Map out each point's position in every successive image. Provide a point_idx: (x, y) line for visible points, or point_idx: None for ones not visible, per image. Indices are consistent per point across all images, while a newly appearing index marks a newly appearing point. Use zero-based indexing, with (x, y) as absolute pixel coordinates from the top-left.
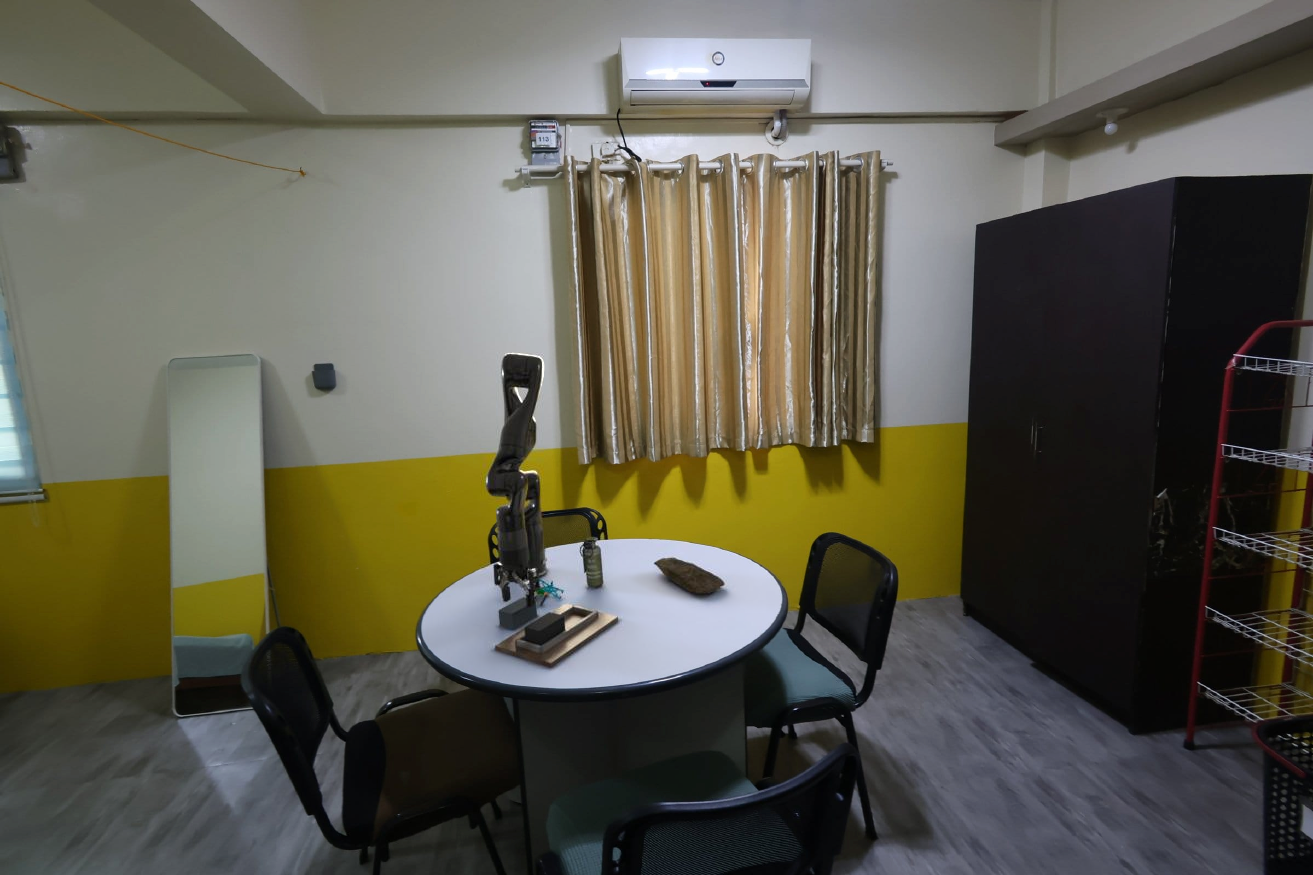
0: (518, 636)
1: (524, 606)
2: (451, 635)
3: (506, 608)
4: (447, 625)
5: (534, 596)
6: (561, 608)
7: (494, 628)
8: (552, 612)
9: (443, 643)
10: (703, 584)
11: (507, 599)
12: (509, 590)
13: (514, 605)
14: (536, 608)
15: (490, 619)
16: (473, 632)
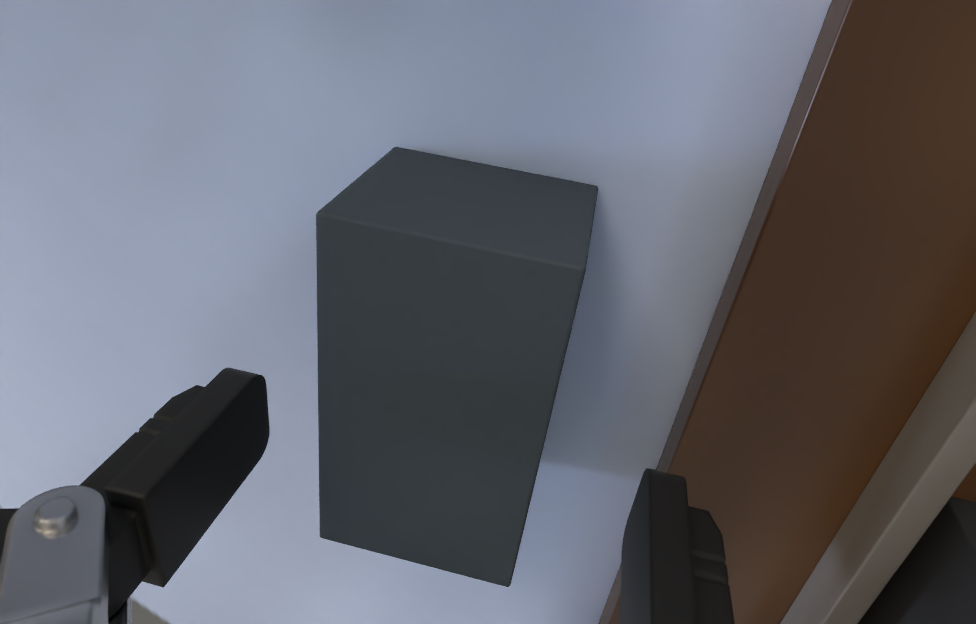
0: None
1: (533, 442)
2: (190, 553)
3: (369, 504)
4: (45, 460)
5: (730, 612)
6: (916, 3)
7: None
8: (814, 165)
9: (235, 620)
10: None
11: (255, 427)
12: (187, 464)
13: (398, 438)
14: (591, 227)
15: (216, 340)
16: (277, 514)
